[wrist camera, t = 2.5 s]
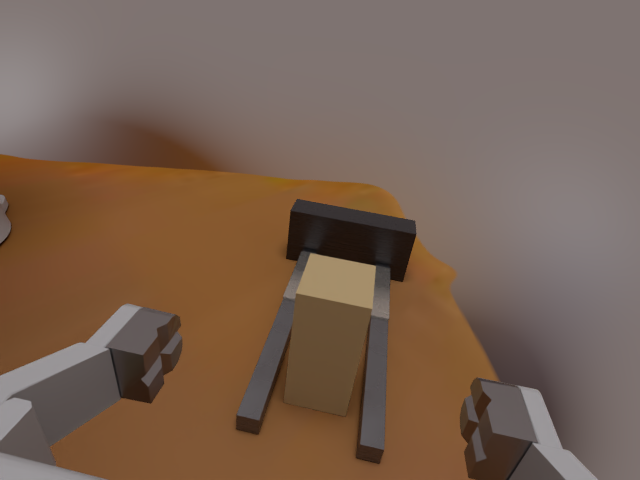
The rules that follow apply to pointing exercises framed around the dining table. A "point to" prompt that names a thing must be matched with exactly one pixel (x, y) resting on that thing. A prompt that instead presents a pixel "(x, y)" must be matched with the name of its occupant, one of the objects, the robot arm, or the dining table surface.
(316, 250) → the pallet fork attachment
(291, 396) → the tall tan pillar block
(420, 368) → the dining table surface
